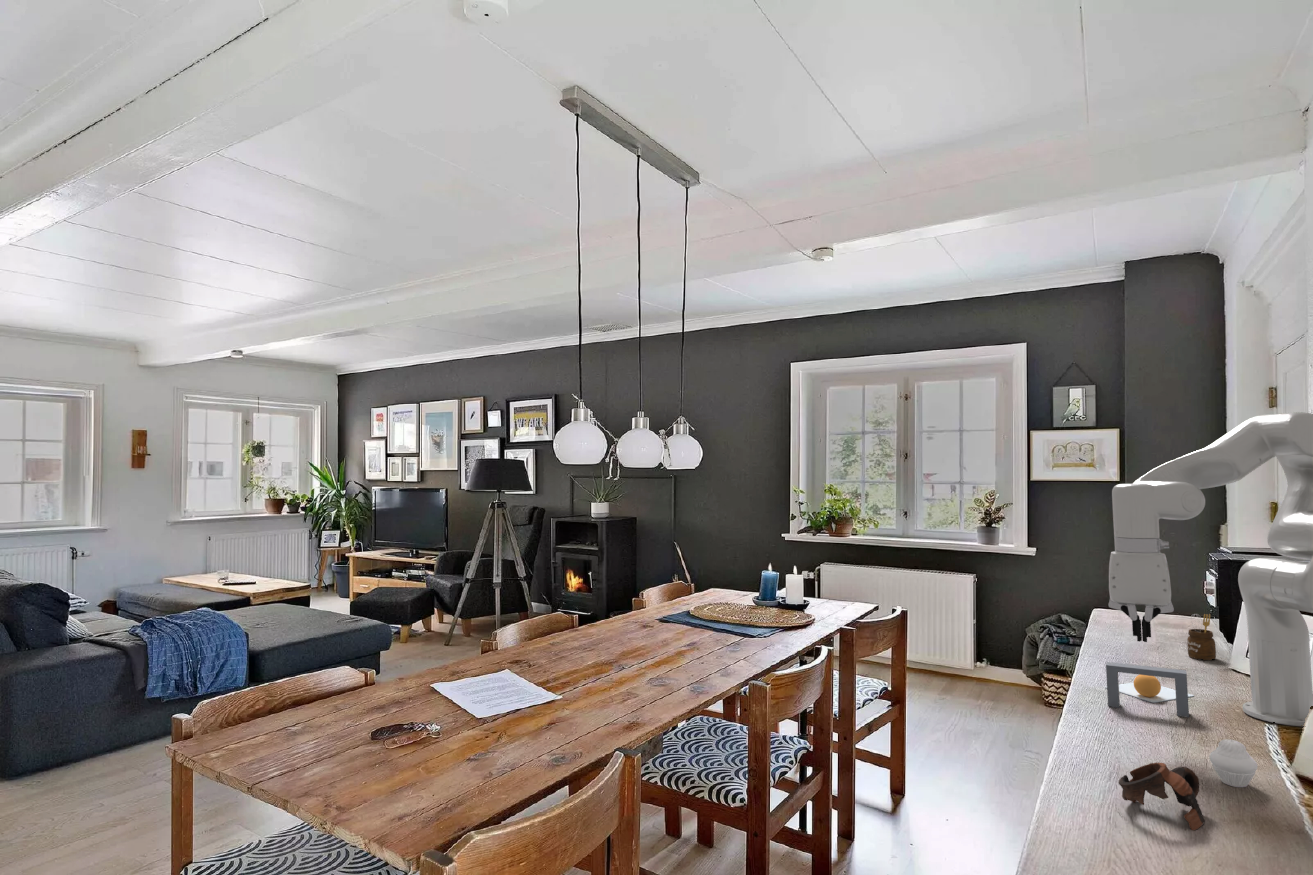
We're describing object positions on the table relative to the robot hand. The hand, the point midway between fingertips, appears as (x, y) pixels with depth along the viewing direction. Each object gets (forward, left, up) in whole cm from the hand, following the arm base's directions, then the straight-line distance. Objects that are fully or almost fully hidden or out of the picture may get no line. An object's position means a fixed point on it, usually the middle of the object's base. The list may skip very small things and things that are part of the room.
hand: (1142, 640), depth 143 cm
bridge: (-10, -8, -17) cm, 21 cm away
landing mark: (-21, -17, -17) cm, 32 cm away
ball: (-18, -14, -15) cm, 27 cm away
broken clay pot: (+29, +26, -18) cm, 43 cm away
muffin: (+10, +23, -17) cm, 30 cm away
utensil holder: (-59, -32, -17) cm, 70 cm away
